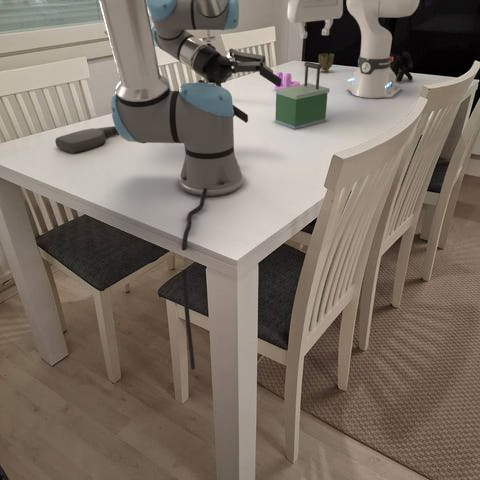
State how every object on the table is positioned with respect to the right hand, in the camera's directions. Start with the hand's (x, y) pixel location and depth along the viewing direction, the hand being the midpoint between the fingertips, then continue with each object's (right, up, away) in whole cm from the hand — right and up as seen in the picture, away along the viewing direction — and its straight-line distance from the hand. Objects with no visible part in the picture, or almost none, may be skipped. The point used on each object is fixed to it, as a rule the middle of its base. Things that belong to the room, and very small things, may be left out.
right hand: (314, 36), depth 140 cm
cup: (+18, +18, +78) cm, 82 cm away
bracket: (-2, +1, +52) cm, 52 cm away
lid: (-3, -15, +7) cm, 17 cm away
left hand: (-17, -28, -26) cm, 42 cm away
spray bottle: (-67, -33, -1) cm, 75 cm away
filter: (-35, -7, +39) cm, 53 cm away
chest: (-3, -24, +12) cm, 27 cm away
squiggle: (+49, +8, +61) cm, 78 cm away
